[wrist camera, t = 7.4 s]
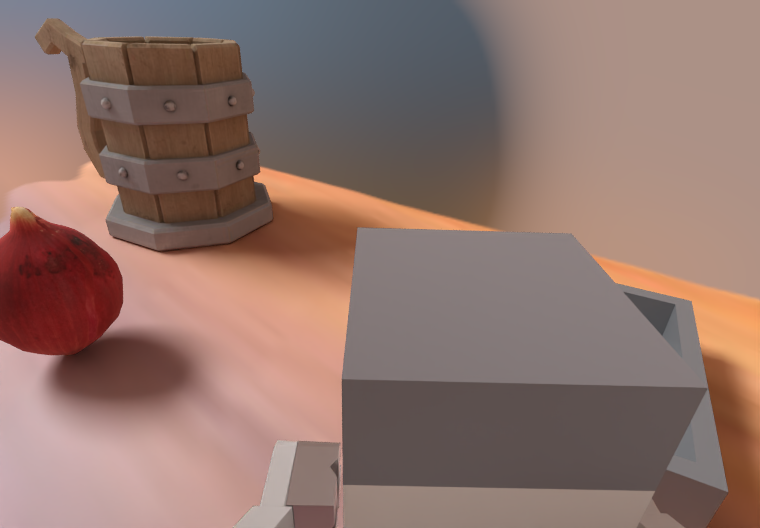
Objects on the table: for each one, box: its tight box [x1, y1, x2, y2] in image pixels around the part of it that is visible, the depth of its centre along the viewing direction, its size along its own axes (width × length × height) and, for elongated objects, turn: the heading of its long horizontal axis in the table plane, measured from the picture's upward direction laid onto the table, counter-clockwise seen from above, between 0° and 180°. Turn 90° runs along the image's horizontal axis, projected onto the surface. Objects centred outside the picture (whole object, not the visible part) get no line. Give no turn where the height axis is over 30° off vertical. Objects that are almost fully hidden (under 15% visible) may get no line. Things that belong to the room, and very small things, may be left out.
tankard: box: [35, 19, 273, 251], centre depth 37 cm, size 20×13×15 cm, turn 64°
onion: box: [0, 207, 123, 355], centre depth 22 cm, size 6×6×8 cm
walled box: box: [616, 283, 728, 528], centre depth 22 cm, size 13×13×3 cm
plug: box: [342, 228, 708, 528], centre depth 10 cm, size 4×4×12 cm
